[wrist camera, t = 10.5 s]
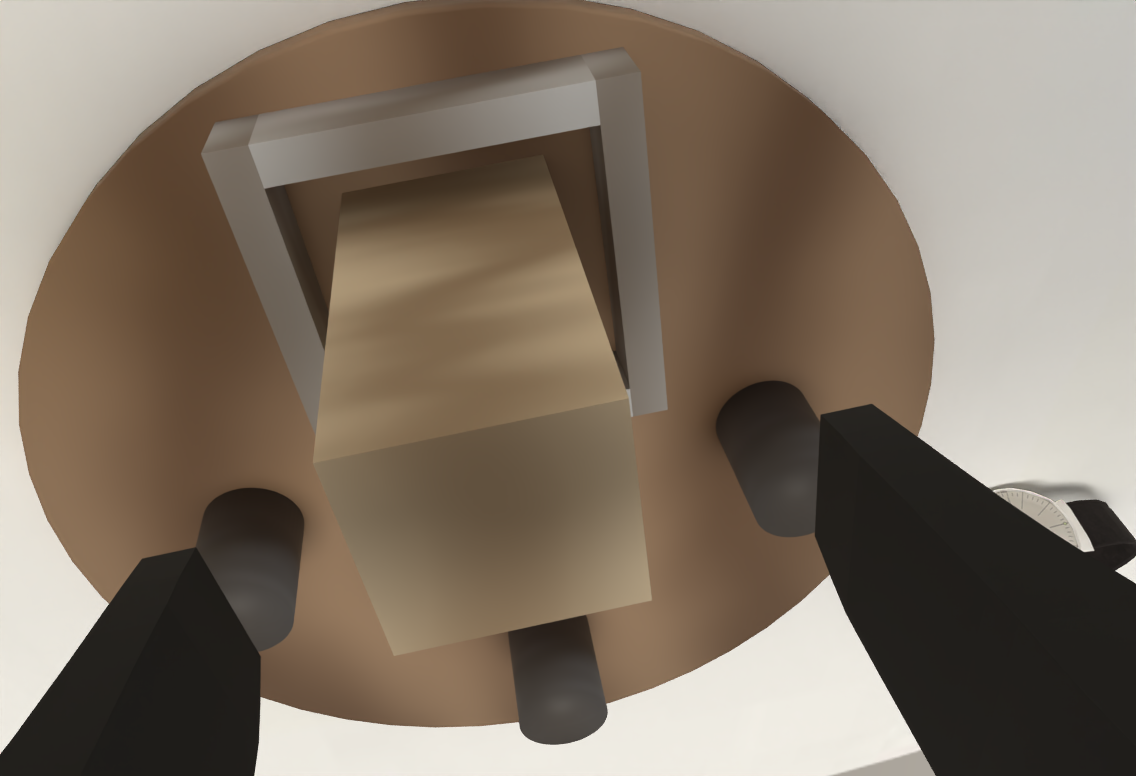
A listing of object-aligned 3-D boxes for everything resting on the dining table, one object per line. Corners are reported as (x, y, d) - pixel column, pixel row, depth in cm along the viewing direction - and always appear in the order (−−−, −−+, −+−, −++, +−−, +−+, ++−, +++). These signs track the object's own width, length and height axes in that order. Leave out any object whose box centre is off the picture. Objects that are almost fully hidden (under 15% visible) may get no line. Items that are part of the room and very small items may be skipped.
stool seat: (976, -102, 17) (1111, -61, 14) (877, 618, 30) (934, 722, 27) (-204, 112, 16) (-352, 209, 13) (238, 758, 29) (218, 883, 26)
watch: (1107, 451, 27) (1191, 536, 24) (1081, 551, 30) (1154, 637, 27) (866, 513, 27) (923, 605, 24) (864, 607, 30) (913, 699, 27)
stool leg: (543, 154, 17) (628, 398, 11) (569, 322, 20) (652, 600, 14) (342, 193, 17) (312, 462, 11) (393, 357, 20) (394, 656, 13)
